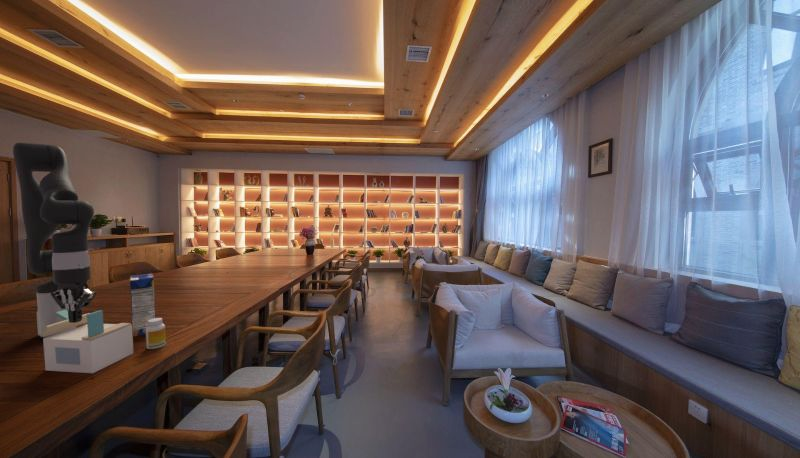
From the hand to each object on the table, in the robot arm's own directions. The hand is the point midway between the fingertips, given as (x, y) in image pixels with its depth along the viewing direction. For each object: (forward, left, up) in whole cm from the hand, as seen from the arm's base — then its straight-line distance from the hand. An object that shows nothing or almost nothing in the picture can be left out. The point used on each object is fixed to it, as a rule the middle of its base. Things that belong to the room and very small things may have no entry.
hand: (75, 321), depth 88 cm
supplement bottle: (+11, +15, -15) cm, 24 cm away
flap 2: (+6, +4, -4) cm, 8 cm away
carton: (0, +4, -15) cm, 15 cm away
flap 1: (-8, +4, -3) cm, 9 cm away
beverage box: (-7, +28, -15) cm, 32 cm away
